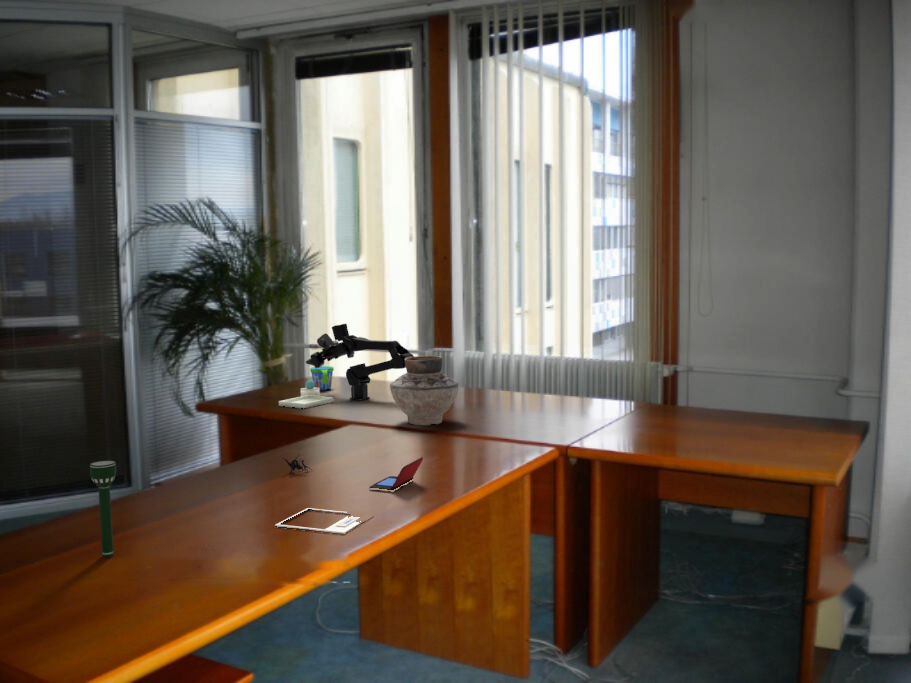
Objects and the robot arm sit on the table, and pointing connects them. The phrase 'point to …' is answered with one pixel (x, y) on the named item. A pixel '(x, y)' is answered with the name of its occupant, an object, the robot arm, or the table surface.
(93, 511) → the table surface
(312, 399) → the tray
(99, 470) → the flashlight
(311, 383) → the ball
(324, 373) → the snack cup
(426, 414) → the ceramic pot
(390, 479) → the handheld game console
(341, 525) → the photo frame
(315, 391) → the cup
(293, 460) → the creature
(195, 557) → the table surface
